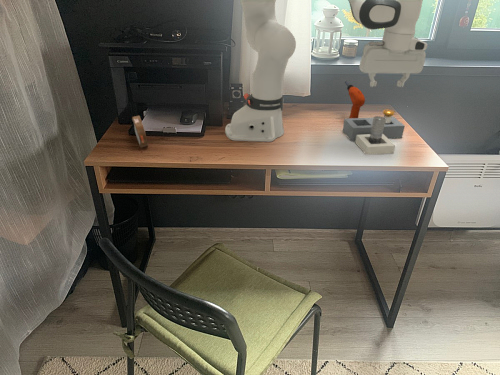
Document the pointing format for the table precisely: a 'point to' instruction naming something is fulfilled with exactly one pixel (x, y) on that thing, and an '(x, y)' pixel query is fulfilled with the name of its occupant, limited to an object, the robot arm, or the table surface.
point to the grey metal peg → (377, 130)
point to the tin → (140, 131)
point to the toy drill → (355, 100)
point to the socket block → (364, 126)
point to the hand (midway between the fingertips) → (386, 86)
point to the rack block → (375, 145)
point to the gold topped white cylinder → (388, 115)
